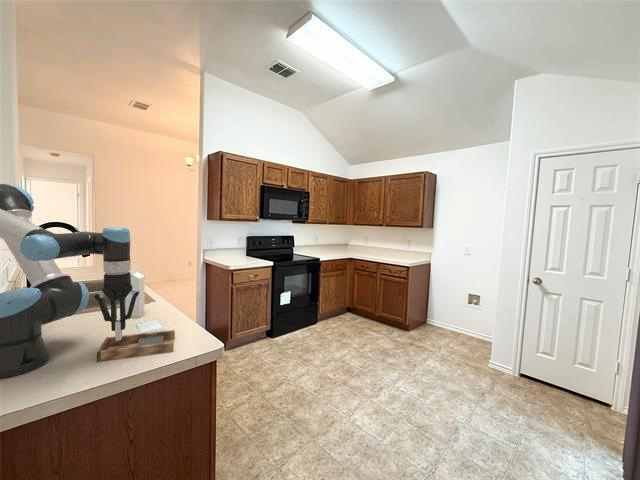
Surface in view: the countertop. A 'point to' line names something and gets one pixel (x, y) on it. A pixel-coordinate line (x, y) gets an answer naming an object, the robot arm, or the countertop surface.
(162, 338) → the grey square tile
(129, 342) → the box
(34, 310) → the robot arm
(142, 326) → the hard drive
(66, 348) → the countertop surface
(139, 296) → the milk
